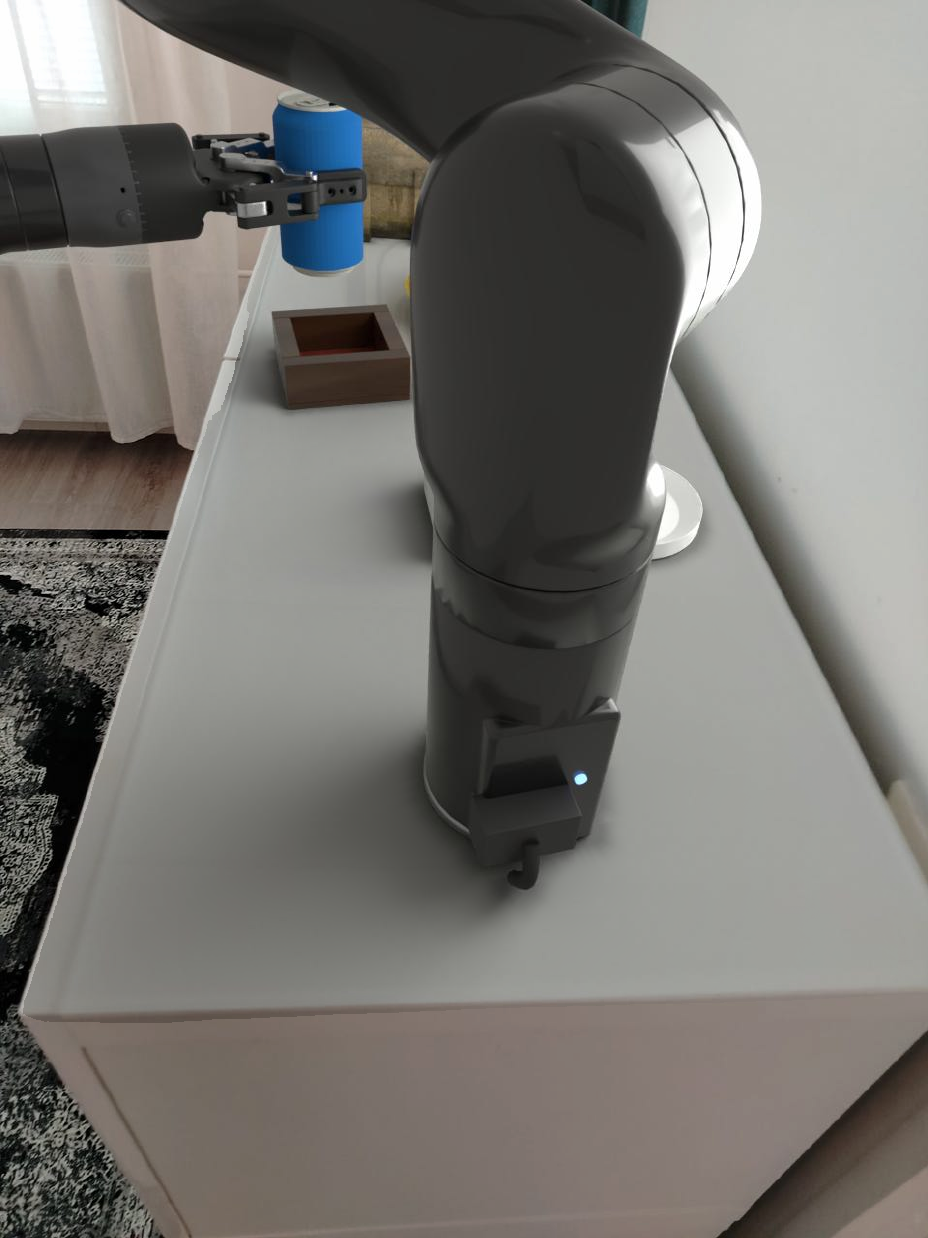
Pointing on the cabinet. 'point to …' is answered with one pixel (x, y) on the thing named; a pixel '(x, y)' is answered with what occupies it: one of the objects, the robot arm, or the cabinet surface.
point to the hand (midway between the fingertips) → (348, 169)
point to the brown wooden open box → (340, 356)
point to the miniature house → (389, 183)
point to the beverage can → (319, 142)
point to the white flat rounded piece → (676, 519)
